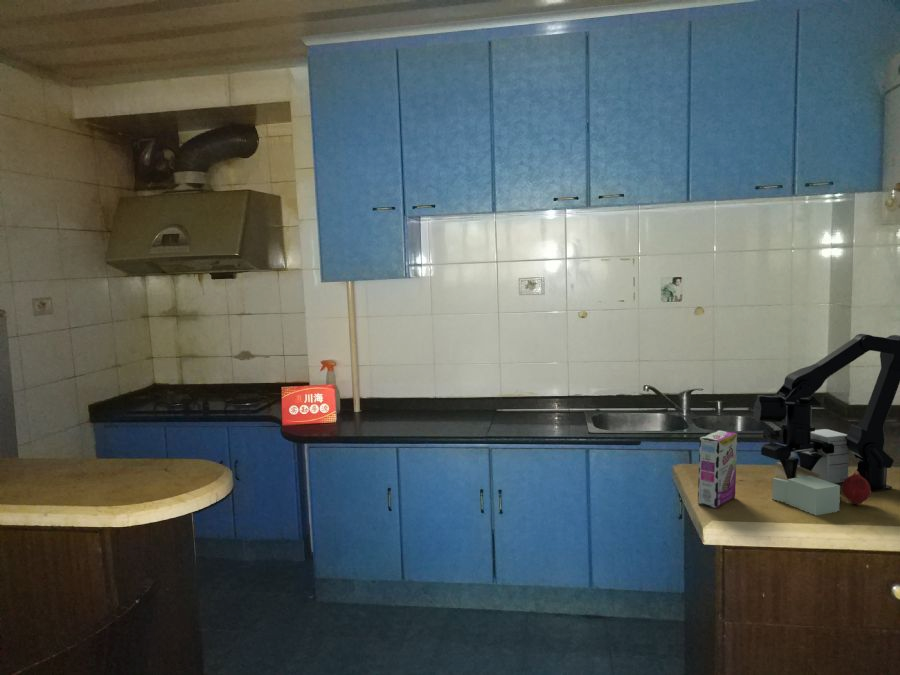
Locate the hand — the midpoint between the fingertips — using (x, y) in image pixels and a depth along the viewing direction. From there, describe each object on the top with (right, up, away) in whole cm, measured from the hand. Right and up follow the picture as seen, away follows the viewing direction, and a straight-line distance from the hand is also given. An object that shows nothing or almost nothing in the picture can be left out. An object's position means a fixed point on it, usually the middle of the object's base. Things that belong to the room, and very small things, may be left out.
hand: (796, 481), depth 167 cm
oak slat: (0, -1, 0) cm, 1 cm away
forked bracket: (-5, -3, -15) cm, 16 cm away
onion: (+6, -2, -15) cm, 16 cm away
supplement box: (+10, -1, +5) cm, 11 cm away
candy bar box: (-25, -3, -11) cm, 27 cm away
